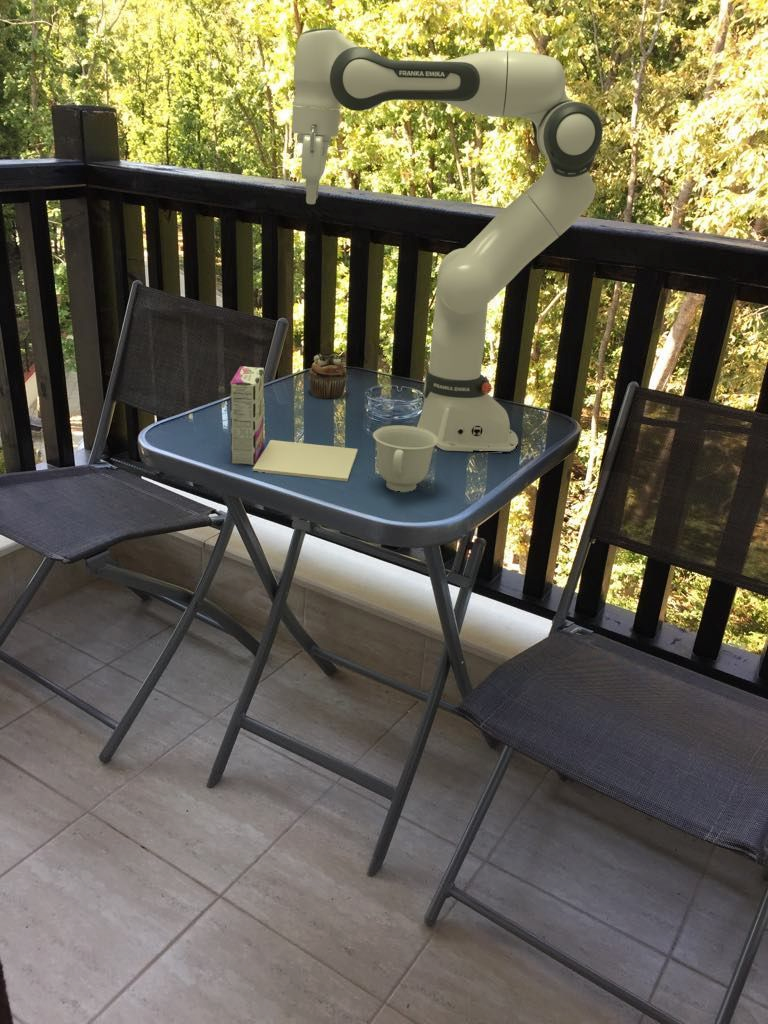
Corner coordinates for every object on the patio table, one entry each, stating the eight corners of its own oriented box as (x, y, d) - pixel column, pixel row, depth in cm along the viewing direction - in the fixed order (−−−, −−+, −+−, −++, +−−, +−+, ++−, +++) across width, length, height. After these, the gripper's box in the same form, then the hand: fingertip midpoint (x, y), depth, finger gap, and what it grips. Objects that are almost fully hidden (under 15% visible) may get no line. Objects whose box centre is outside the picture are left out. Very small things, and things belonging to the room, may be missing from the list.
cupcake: (353, 398, 208) (355, 358, 204) (315, 401, 204) (317, 360, 200) (337, 387, 216) (339, 347, 212) (301, 389, 212) (302, 349, 208)
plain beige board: (357, 451, 176) (357, 448, 176) (347, 481, 161) (347, 478, 161) (270, 442, 177) (270, 439, 176) (252, 471, 162) (252, 468, 162)
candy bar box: (239, 444, 175) (239, 365, 168) (263, 446, 175) (265, 367, 168) (229, 464, 165) (229, 381, 158) (255, 466, 165) (256, 383, 158)
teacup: (360, 500, 154) (363, 448, 150) (375, 470, 167) (379, 421, 163) (426, 509, 152) (432, 457, 148) (437, 479, 166) (442, 429, 162)
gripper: (330, 127, 155) (326, 208, 161) (333, 125, 173) (329, 198, 179) (295, 124, 154) (292, 205, 160) (301, 122, 173) (299, 195, 179)
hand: (311, 201), depth 170 cm, fingers open, 8 cm apart
